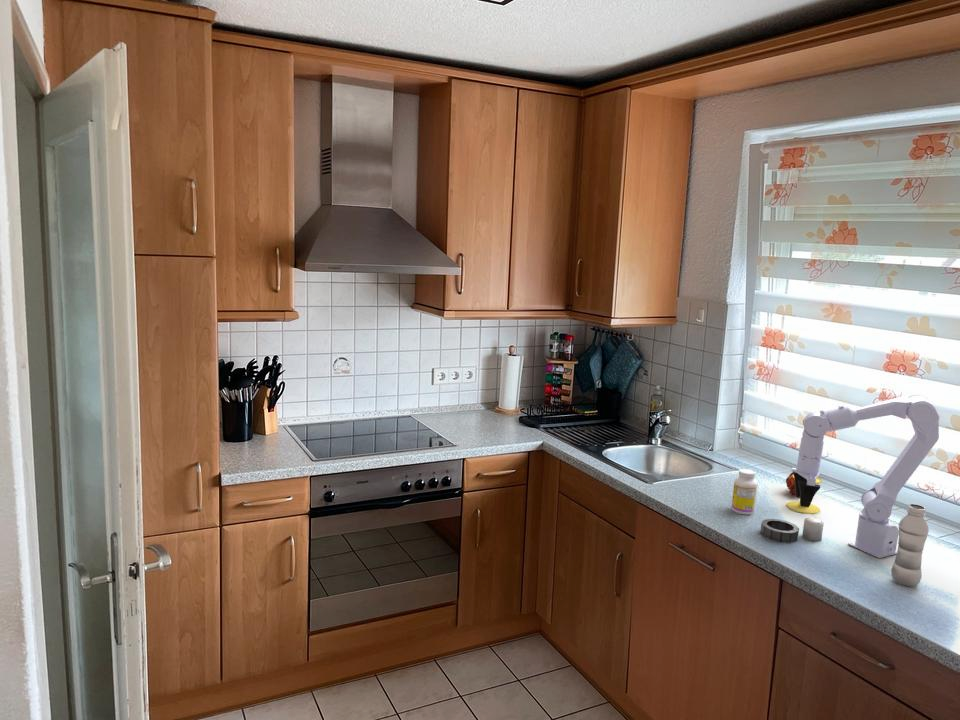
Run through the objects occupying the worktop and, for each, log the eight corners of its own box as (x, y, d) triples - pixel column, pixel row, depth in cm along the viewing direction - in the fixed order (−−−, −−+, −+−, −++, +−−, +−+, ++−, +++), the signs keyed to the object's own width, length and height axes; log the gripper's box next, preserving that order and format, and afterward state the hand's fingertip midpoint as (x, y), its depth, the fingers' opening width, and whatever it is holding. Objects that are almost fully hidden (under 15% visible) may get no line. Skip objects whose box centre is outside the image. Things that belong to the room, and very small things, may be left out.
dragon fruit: (807, 494, 242) (794, 508, 234) (787, 475, 245) (773, 488, 237) (824, 480, 237) (811, 493, 228) (804, 461, 240) (790, 473, 232)
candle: (782, 508, 224) (792, 424, 220) (790, 499, 232) (801, 419, 227) (816, 516, 218) (828, 431, 214) (823, 507, 226) (835, 425, 222)
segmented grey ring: (804, 539, 201) (806, 529, 200) (780, 545, 196) (782, 534, 196) (777, 526, 209) (778, 517, 209) (753, 531, 205) (754, 521, 204)
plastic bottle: (892, 586, 175) (904, 509, 172) (887, 574, 182) (899, 499, 178) (922, 592, 173) (935, 514, 170) (916, 580, 179) (929, 504, 176)
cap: (825, 540, 201) (827, 522, 201) (813, 542, 199) (815, 525, 198) (810, 533, 206) (812, 516, 205) (798, 535, 204) (800, 518, 203)
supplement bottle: (735, 505, 225) (740, 466, 222) (757, 511, 221) (762, 471, 218) (727, 511, 220) (732, 471, 217) (749, 517, 216) (754, 476, 213)
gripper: (790, 446, 207) (783, 490, 210) (798, 461, 194) (791, 508, 196) (816, 449, 206) (809, 494, 208) (827, 465, 192) (818, 512, 194)
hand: (802, 501), depth 202 cm, fingers open, 7 cm apart
